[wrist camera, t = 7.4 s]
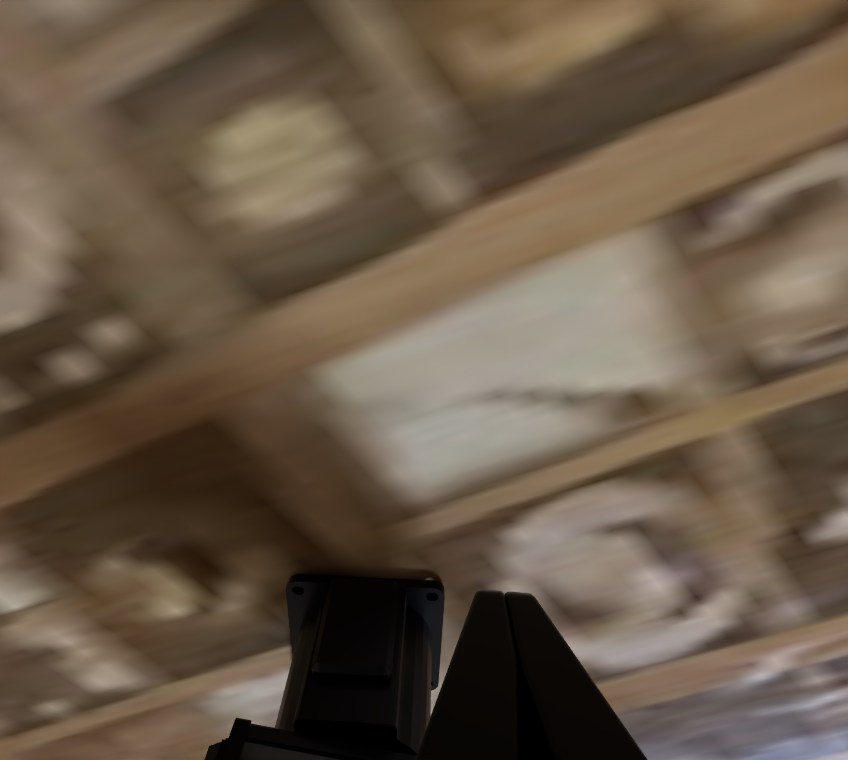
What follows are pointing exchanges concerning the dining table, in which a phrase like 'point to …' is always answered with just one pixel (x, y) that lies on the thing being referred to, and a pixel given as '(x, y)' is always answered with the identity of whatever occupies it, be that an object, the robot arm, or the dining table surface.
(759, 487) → the dining table surface
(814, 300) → the dining table surface
